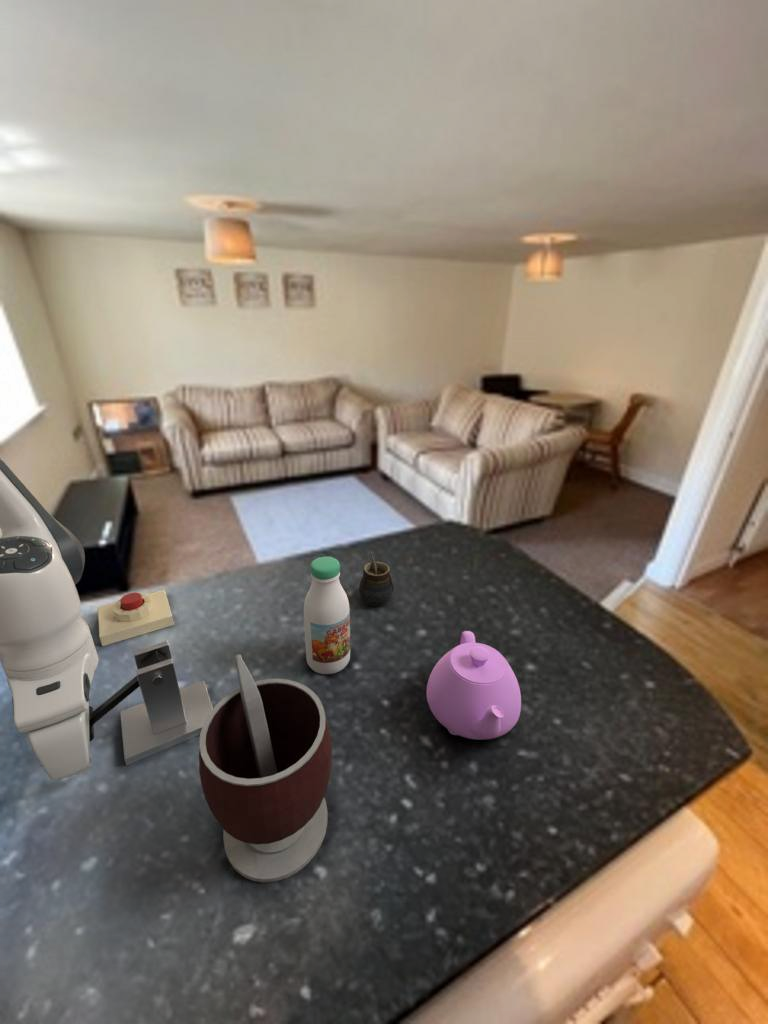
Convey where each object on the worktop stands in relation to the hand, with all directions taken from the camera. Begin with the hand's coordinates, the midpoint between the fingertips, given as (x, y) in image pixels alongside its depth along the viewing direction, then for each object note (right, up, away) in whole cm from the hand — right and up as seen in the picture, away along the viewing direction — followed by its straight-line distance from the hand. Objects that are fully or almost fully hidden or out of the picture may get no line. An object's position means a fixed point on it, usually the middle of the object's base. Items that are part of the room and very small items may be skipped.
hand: (83, 739), depth 61 cm
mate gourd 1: (+27, -7, -6) cm, 29 cm away
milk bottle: (+31, +5, +19) cm, 36 cm away
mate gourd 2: (+39, +12, +35) cm, 54 cm away
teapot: (+54, -1, +9) cm, 55 cm away
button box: (-7, +10, +27) cm, 29 cm away
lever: (+6, +5, +1) cm, 8 cm away
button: (-7, +13, +25) cm, 29 cm away
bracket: (+9, 0, +6) cm, 11 cm away
